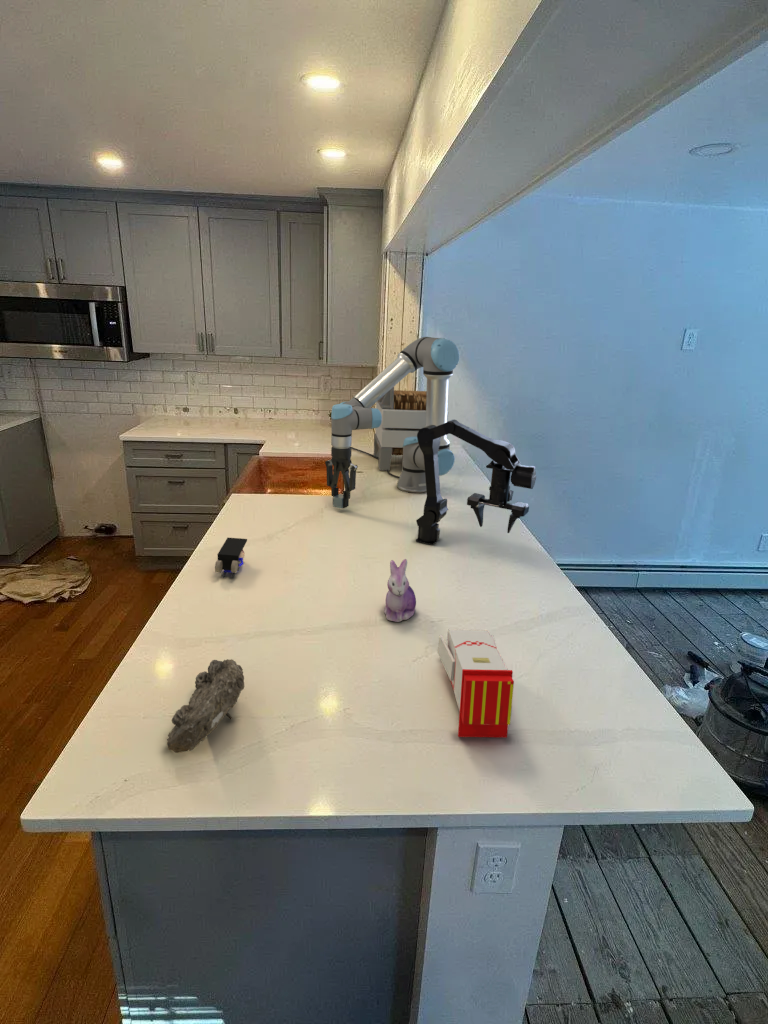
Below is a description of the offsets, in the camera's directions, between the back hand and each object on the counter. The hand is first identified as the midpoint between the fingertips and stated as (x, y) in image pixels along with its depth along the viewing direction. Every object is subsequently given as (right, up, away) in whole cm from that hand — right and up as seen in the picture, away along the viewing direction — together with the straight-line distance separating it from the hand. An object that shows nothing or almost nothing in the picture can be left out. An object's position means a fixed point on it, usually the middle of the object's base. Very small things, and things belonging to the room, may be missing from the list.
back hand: (340, 505), depth 219 cm
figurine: (+21, -29, -72) cm, 80 cm away
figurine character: (-28, -20, -51) cm, 62 cm away
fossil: (-16, -42, -111) cm, 119 cm away
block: (0, 0, 0) cm, 0 cm away
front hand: (+52, -8, -37) cm, 64 cm away
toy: (+35, -40, -100) cm, 114 cm away
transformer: (+29, +23, +73) cm, 82 cm away
